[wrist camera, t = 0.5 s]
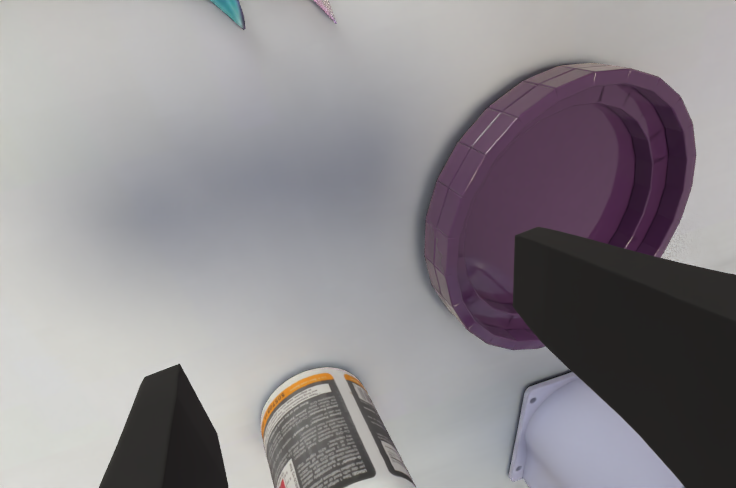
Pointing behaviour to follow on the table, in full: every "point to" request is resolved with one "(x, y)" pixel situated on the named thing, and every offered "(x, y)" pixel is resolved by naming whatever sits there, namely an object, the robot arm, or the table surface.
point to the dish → (556, 184)
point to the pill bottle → (328, 435)
